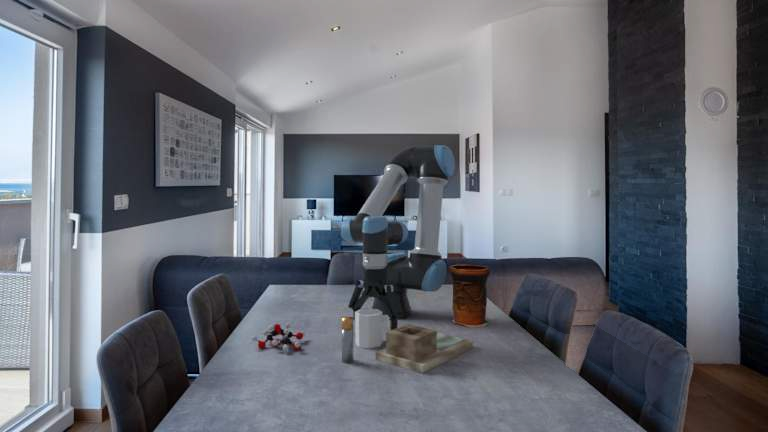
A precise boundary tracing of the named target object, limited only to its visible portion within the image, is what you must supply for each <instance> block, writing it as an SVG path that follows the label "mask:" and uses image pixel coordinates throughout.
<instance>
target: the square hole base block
mask: <svg viewBox="0 0 768 432" xmlns="http://www.w3.org/2000/svg"><path fill="white" fill-rule="evenodd" d="M385 334H386V335H385V348H382V349H379V350H377V351H375V360H377V361H380V362H383V363H386V364H390V365H394V366H397V367H400V368H402V369H406V370H410V371H413V372H416V373H418V374H419V373H420V374H424V373H426V372H428V371H430V370H432V369H434V368H436V367H438V366H440V365H442V364H444V363H446V362H447V361H450V360H452V359H454V358H456V357H457V356H459V355H461V354H463V353H465V352H467V351H469V350H471V349H472V348H474V340H470V339H466V338H463V337H458V336H452V335H449V334H444V333H440V332H437V330H434V329H431V328H426V327H421V326H418V325H412V324H404V325H402V326H400V327H399V326H398V327H397V328H396V329H393V330H391V331H388V330H387V331H386V332H385Z"/></svg>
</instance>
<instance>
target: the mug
mask: <svg viewBox="0 0 768 432" xmlns="http://www.w3.org/2000/svg"><path fill="white" fill-rule="evenodd" d="M388 319H390V317H389V316H388V315H382V311H380V310H378V309H372V308H364V309H362V308H361V309H360V310H358V311H357V312H356V313H355V321H354V329H355V328H356V332H355V346H357V347H358V348H362V349H373V348H379V347H381V346H382V345H383V342H384V341H383V334H384V332H383V326H384V325H383V320H386V321H387V322H388Z"/></svg>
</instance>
